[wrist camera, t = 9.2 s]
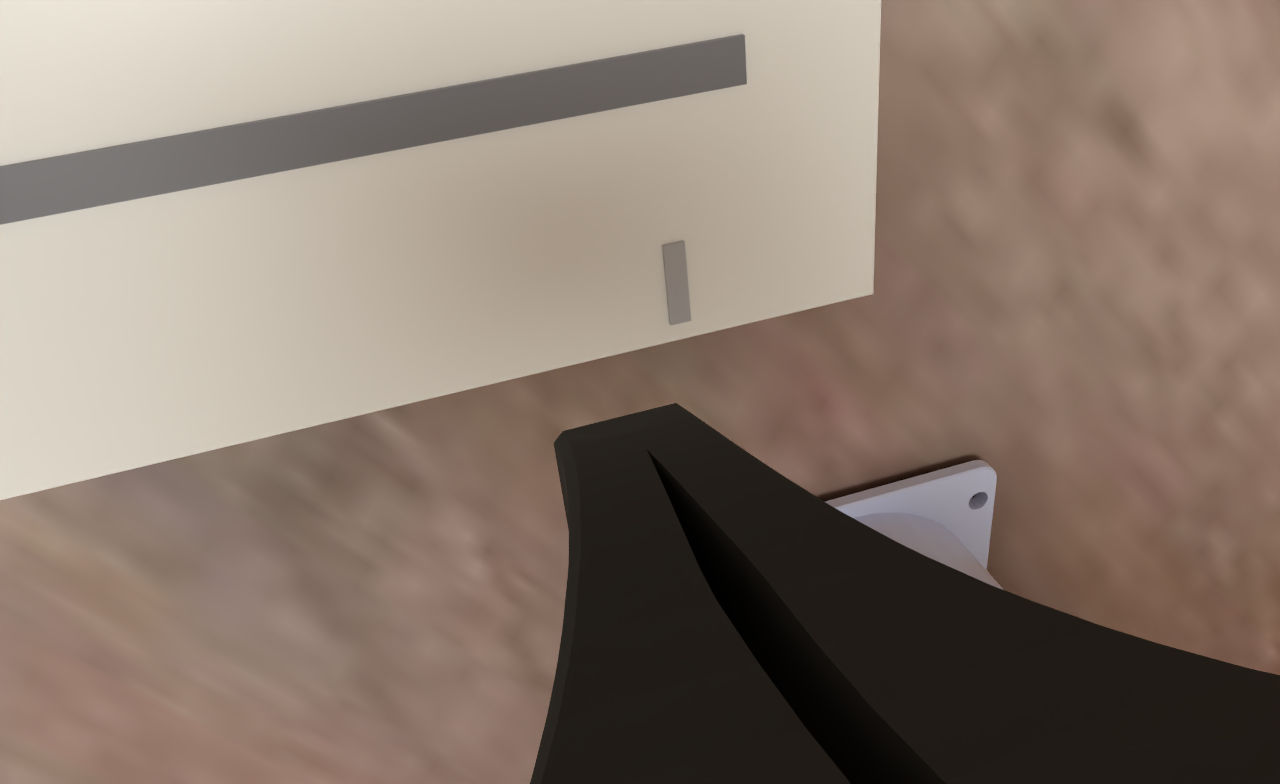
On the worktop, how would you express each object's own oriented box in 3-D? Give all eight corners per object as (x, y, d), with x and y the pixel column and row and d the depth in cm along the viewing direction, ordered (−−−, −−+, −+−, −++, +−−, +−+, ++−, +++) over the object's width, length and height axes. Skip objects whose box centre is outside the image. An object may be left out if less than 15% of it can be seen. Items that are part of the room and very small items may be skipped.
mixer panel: (839, 263, 22) (875, 295, 20) (-503, 570, 17) (-569, 638, 16) (843, -314, 16) (893, -321, 15) (-1117, -96, 12) (-1294, -78, 10)
